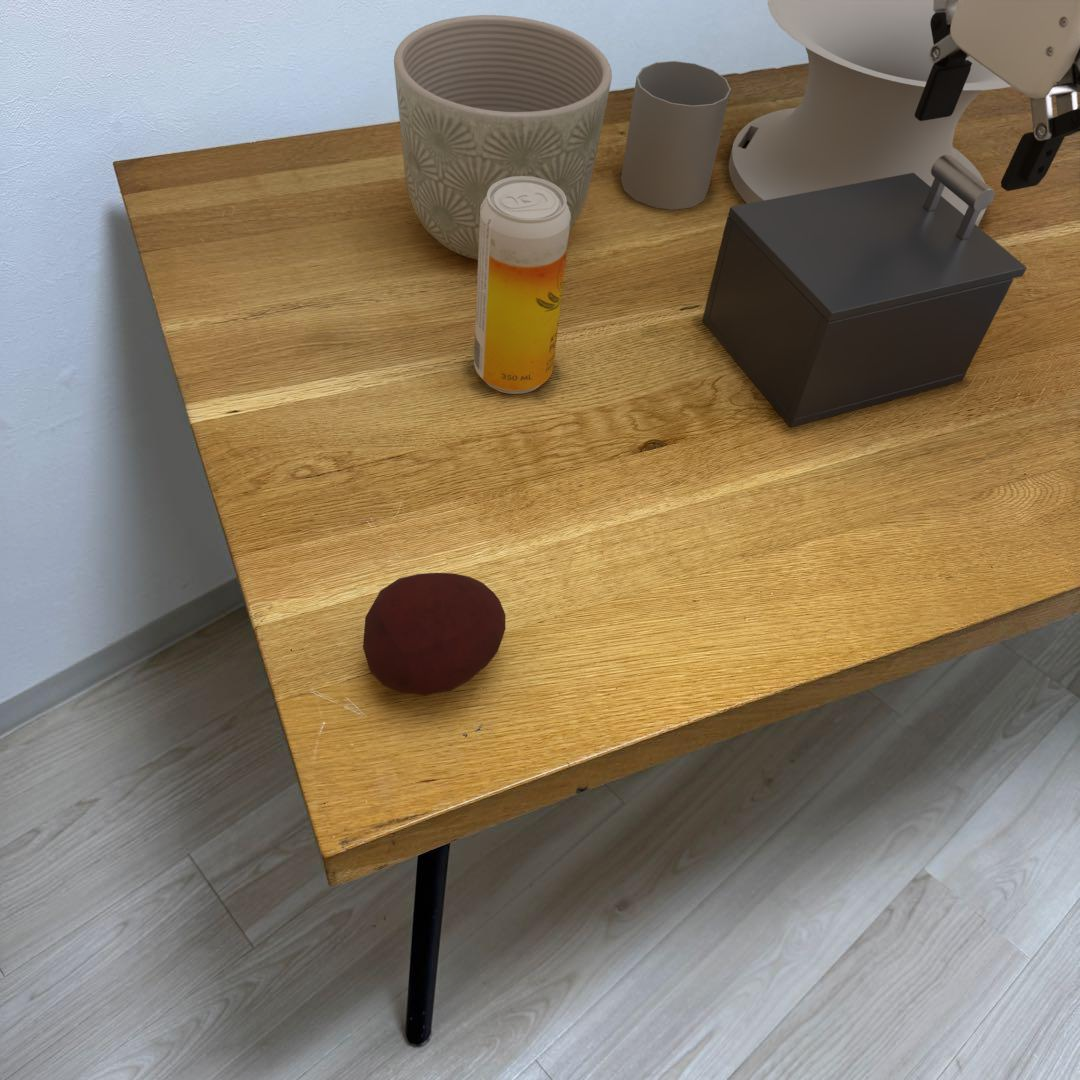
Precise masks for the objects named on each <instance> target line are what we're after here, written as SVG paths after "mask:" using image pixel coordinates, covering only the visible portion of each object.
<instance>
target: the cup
mask: <svg viewBox="0 0 1080 1080" xmlns="http://www.w3.org/2000/svg"><path fill="white" fill-rule="evenodd" d="M633 90H634V91H633V96H632V104H631V110H630V117H629V123H628V130H627V137H626V142H625V143H626V144H625V149H624V155H623V156H624V157H623V162H622V168H621V169H622V170H621V176H620V181H621V182H620V183H621V185H622V188H623V191H624V192H625V193H626V194H627V195H629V196H630V197H631V198H632V199H633V200H634V201H636V202H639V203H641V204H643V205H645V206H649V207H651V208H656V209H662V210H670V211H675V210H677V211H678V210H683V209H691V208H693V207H695V206H697V205H699V204H701V203H702V202H704V201H705V199H706V197H707V195H708V193H709V189H710V186H711V185H710V184H711V179H712V175H713V172H714V166H715V162H716V157H717V153H718V148H719V144H720V140H721V135H722V131H723V130H722V129H723V127H724V123H725V118H726V113H727V108H728V105H729V99H730V95H731V91H732V89H731V86H730V84H729V82H728V80H727V78H725V77H724V76H722V75H721V74H719V73H718V72H717V71H716V70H714V69H712V68H710V67H709V68H708V67H706V66H702V65H700V64H697V63H695V62H694V63H693V62H684V61H677V60H669V61H658V62H657V61H656V62H653V63H651V64H648V65H647V66H644V67H642V68H641V69H640V71H639V72H638V74H637V75H636V77H635V84H634V89H633Z"/></svg>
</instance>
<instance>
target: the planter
mask: <svg viewBox="0 0 1080 1080" xmlns="http://www.w3.org/2000/svg"><path fill="white" fill-rule="evenodd" d="M393 68H394V79H395V88H396V99H397V108H398V118H399V119H398V120H399V130H400V138H401V139H400V140H401V149H402V159H403V160H402V161H403V169H404V176H405V183H406V188H407V193H408V197H409V200H410V202H411V205H412V207H413V209H414V212H415V214H416V216H417V218H418V220H419V221H420V224H421V225H422V226H423V228H424V229H425V230H426V231H427V232H428V233H429V235H430V236H432V237H433V238H434V239H435V240H436V241H437V242H438V243H439V244H440V245H442V246H443V247H445V248H447V249H448V250H450V251H452V252H454V253H455V254H457V255H460V256H463V257H466V258H469V259H473V260H477V261H478V251H479V226H480V207H481V204H482V203H483V201H484V199H485V198H486V196H487V192H488V190H489V188H490V187H491V186H492V185H493V184H494V183H496V182H497V181H499V180H502V179H505V178H509V177H516V176H528V177H535V178H540V179H543V180H546V181H549V182H551V183H553V184H555V185H556V186H558V187H559V188H560V189H561V190H562V191H563V192H564V194H565V196H566V200H567V205H568V208H569V210H570V214H571V221H570V229H569V233H570V232H571V230H572V229H573V228H574V226H575V225H576V223H577V221H578V219H579V218H580V216H581V213H582V211H583V209H584V207H585V204H586V201H587V198H588V194H589V191H590V186H591V181H592V178H593V177H592V176H593V173H594V172H593V171H594V167H595V161H596V158H597V153H598V149H599V148H598V147H599V141H600V137H601V133H602V129H603V128H602V127H603V124H604V120H605V119H604V118H605V113H606V108H607V105H608V104H607V103H608V99H609V95H610V90H611V84H612V79H613V73H612V72H613V71H612V68H611V64H610V63H609V60H608V58H607V57H606V56H605V54H604V53H603V52H602V51H601V50H600V49H599V48H598V47H597V46H596V45H595V44H593V43H592V42H590V41H589V40H587V39H586V38H584V37H582V36H581V35H579V34H577V33H575V32H573V31H571V30H568V29H566V28H563V27H560V26H557V25H555V24H551V23H548V22H545V21H540V20H537V19H532V18H525V17H521V16H511V15H496V14H478V15H476V14H475V15H463V16H456V17H451V18H445V19H442V20H439V21H435V22H432V23H428V24H426V25H424V26H422V27H421V26H420V27H419V28H417V29H416V30H414V31H412V32H411V33H409V34H407V36H406V37H404V38H403V39H402V41H401V42H400V43H399V44H398V46H397V48H396V50H395V52H394V56H393Z"/></svg>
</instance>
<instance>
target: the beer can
mask: <svg viewBox="0 0 1080 1080" xmlns="http://www.w3.org/2000/svg"><path fill="white" fill-rule="evenodd" d="M570 221H571V214H570V210H569V208H568V205H567V200H566V196H565V194H564V192H563V191H562V190H561V189H560V188H559V187H558V186H556V185H555V184H553V183H551V182H549V181H546V180H543V179H540V178H535V177H528V176H516V177H509V178H505V179H502V180H499V181H497V182H496V183H494V184H493V185H492V186H491V187H490V188H489V190H488V192H487V196H486V198H485V199H484V201H483V203H482V204H481V207H480V226H479V251H478V260H477V277H476V279H477V282H476V301H475V302H476V303H475V328H474V329H475V330H474V354H473V356H474V357H473V366H474V369H475V371H476V373H477V375H478V377H480V378H481V379H482V381H484V382H485V384H486V385H487V386H488V387H490V388H491V389H493V390H495V391H498V392H500V393H504V394H510V395H521V394H527V393H530V392H533V391H535V390H536V389H538V388H539V387H541V386H542V385H543V384H545V383H546V382H547V381H548V380H549V379H550V378H551V376H552V375H553V371H554V368H555V367H554V366H555V357H556V349H557V341H558V333H559V332H558V331H559V323H560V316H561V315H560V314H561V306H562V298H563V297H562V296H563V289H564V280H565V271H566V264H567V263H566V262H567V256H568V255H567V253H568V246H569V239H570V238H569V236H570V232H569V229H570Z"/></svg>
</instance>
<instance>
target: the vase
mask: <svg viewBox="0 0 1080 1080" xmlns="http://www.w3.org/2000/svg"><path fill="white" fill-rule="evenodd" d="M933 3H934V0H767V8H768V11H769V13H770V15H771V17H772V18H773V20H774V22H775V23H776V24H777V26H778V27H779V28H780V29H781V30H783V32H784V33H785V34H787V35H788V36H789V37H791V38H792V39H793V40H794V41H795V42H797V43H798V44H800V45H801V46H803V47H804V48H805V51H806V54H807V60H808V66H809V67H808V80H807V84H806V87H805V91H804V94H803V96H802V98H801V100H800V102H799V103H798V105H797V107H791V108H783V109H780V110H775V111H772V112H769V113H767V114H763V115H760V116H759V117H757V118H755V119H753V120H752V121H750V122H749V123H747V124H746V125H744V126H743V128H742V129H741V130H739V132H738V133H737V135H736V136H735V138H734V141H733V144H732V148H731V152H730V156H729V161H728V174H729V178H730V181H731V183H732V186H733V188H734V189H735V190H736V192H737V193H738V195H739V196H740V198H741V199H742V200H743V201H744V202H745V204H748V203H753V202H759V201H764V200H769V199H775V198H780V197H785V196H791V195H796V194H802V193H807V192H812V191H818V190H823V189H828V188H834V187H839V186H845V185H850V184H855V183H861V182H866V181H871V180H877V179H882V178H887V177H893V176H898V175H904V174H909V173H915V174H916V175H917V176H918V177H919V178H921V179H922V180H923V181H924V182H925V183H927V184H928V185H929V186H930V187H931V186H932V183H933V181H934V178H935V177H933V176H932V174H931V169H932V166H933V164H934V163H935V161H936V160H937V159H938V158H940V157H941V156H943V155H951V156H952V157H953V158H954V159H956V160H957V161H958V162H959V163H961V164H962V165H963V166H964V167H966V168H967V169H968V170H969V171H971V172H972V173H973V174H974V175H976V176H977V177H978V178H979V179H981V180H982V181H983V182H984V183H986V182H985V180H984V177H983V175H982V174H981V172H980V171H979V170H978V169H977V167H976V166H975V165H974V163H972V162H971V160H970V159H968V158H967V157H966V156H965V155H964V154H963V153H962V152H961V151H959V150H958V149H956V147H954V146H953V141H954V136H955V132H956V129H957V126H958V123H959V122H960V119H961V117H962V115H963V114H964V112H965V111H966V109H967V108H968V106H969V105H970V104H971V103H972V102H973V101H974V100H975V99H976V98H977V97H978V96H979V95H980V94H982V93H983V92H984V91H987V90H988V91H989V90H999V89H1006V88H1011V87H1012V86H1010V85H1009V84H1008V83H1006V82H1005V81H1003V80H1002V79H1001V78H999V77H998V76H996V75H995V74H993V73H992V72H991V71H989V70H988V69H986V68H985V67H984V66H982V65H981V64H980V63H978V62H977V61H976V60H974V59H973V58H971V57H970V56H969V57H967V58H966V60H969V61H970V62H971V63H972V65H971V70H970V73H969V75H968V78H967V80H966V83H965V85H964V87H963V90H962V92H961V95H960V97H959V100H958V102H957V105H956V107H955V110H954V112H953V114H952V115H951V116H949V117H943V118H937V119H931V120H925V121H919V120H918V119H917V118H915V112H916V109H917V106H918V104H919V101H920V98H921V96H922V93H923V90H924V88H925V85H926V82H927V80H928V77H929V74H930V72H931V69H932V66H933V65H934V63H933V62H932V61H931V60H930V56H929V54H930V49H931V48H932V46H933V45H934V43H933V37H932V32H931V25H930V22H931V18H932V16H933V15H934V14H935V11H933ZM747 141H749V143H748V144H747V146H746V147H745V148H743V147H744V146H745V145H746V143H747ZM941 196H942V197H943V198H944V199H946V200H947V201H948V202H949V203H950V204H952V205H953V206H954V207H955V208H956V209H958V210H959V211H960V212H961V213H962V214H964V215H965V213H966V211H967V209H968V205H967V204H966V203H965V202H964V201H962V200H961V199H960V198H959V197H958V196H956V195H955V194H954V193H953V192H952V191H950V190H949V189H948V188H947V187H944V190H943V192H942V195H941ZM987 208H988V207H986V208H985V209H984V210H982V211H981V212H980V214H979V216H978V218H977V220H976V223H975V224H976V225H977V226H978V227H979V225H980V223H981V221H982V219H983V217H984V215H985V213H986V210H987Z"/></svg>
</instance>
